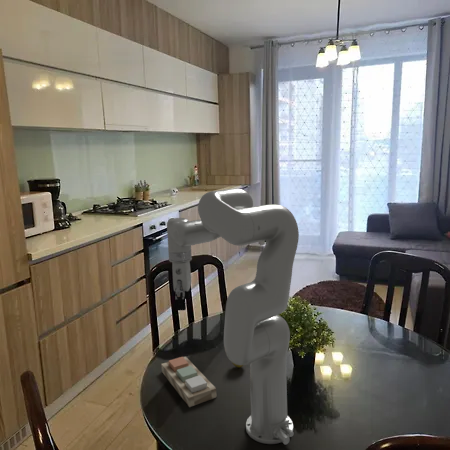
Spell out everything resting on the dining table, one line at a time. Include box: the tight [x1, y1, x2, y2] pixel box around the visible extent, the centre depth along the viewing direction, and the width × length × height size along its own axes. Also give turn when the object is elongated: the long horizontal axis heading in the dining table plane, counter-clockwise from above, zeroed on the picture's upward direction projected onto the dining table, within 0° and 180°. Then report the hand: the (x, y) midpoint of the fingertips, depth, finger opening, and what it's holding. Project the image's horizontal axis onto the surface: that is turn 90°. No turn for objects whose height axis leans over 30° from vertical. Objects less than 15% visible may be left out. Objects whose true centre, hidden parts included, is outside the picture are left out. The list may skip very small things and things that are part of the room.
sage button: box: [177, 366, 197, 382], centre depth 132 cm, size 5×5×3 cm
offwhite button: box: [185, 375, 207, 393], centre depth 126 cm, size 5×5×3 cm
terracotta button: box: [168, 356, 189, 372], centre depth 138 cm, size 5×5×3 cm
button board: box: [160, 356, 217, 408], centre depth 132 cm, size 23×9×3 cm, turn 29°
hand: (182, 304), depth 140 cm, fingers open, 9 cm apart
